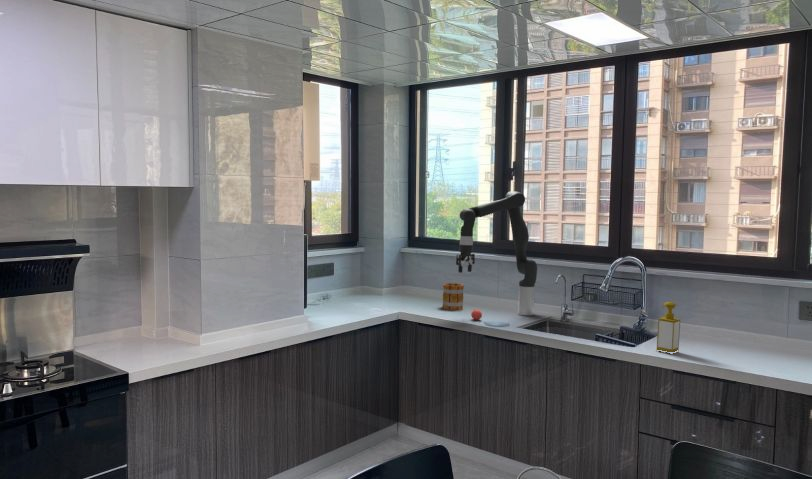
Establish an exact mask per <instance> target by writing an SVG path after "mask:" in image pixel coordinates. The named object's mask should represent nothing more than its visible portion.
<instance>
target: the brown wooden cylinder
mask: <svg viewBox="0 0 812 479" xmlns="http://www.w3.org/2000/svg"><path fill="white" fill-rule="evenodd" d="M442 286H443V289H442V307H441V308H442V309H443V310H446V311H463V310H464V308H463V306H464V304H463V303H464V286H465V285H464V284H463V283H456V282H455V283H453V282H452V283H450V282H447V283H443V284H442ZM462 309H463V310H462Z"/></svg>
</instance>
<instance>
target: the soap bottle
mask: <svg viewBox="0 0 812 479" xmlns="http://www.w3.org/2000/svg"><path fill="white" fill-rule="evenodd" d="M676 306H677V303H675V302H672V301H667V302H664V304H663V306H661V308H662V309H663V308H666V309H667V312H665V316H662V317H659V318H657V319H658V321H657V322H658V323H657V338H656V339H657V340H656V351H657V350H662V351H667V352H675V351H677V350H678V351H679V350H680V349H679V347H680V334H681V333H680V331H681V330H680V329H681V318H675V313H673V309H675V308H676Z"/></svg>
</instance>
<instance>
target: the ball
mask: <svg viewBox="0 0 812 479" xmlns="http://www.w3.org/2000/svg"><path fill="white" fill-rule="evenodd" d="M482 315H483V313H482V311H481V309H477V308H476V309H473V310H472V311H471V318H472V320H475V321H479V320H480V319H482V317H483V316H482Z"/></svg>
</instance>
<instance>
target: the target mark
mask: <svg viewBox="0 0 812 479" xmlns="http://www.w3.org/2000/svg"><path fill="white" fill-rule="evenodd" d="M483 324H484V325H485V326H489V327H498V328H503V327H505V328H506V327H509V326H510V323H509V322H504V321H499V320H496V321H495V320H488V321H484V322H483Z"/></svg>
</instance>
